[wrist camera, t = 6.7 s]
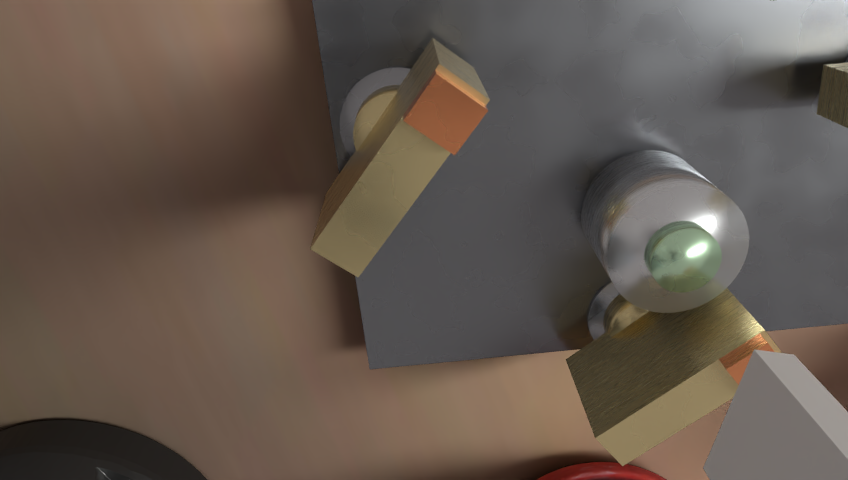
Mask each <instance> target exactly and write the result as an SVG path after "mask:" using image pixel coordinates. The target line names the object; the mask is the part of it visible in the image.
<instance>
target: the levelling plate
mask: <svg viewBox="0 0 848 480" xmlns="http://www.w3.org/2000/svg"><path fill="white" fill-rule="evenodd" d="M312 3H313V9H314V16H315V22H316V29H317V35H318V41H319V48H320V54H321V61H322V67H323V73H324V80H325V86H326V93H327V99H328V105H329V112H330V118H331V125H332V131H333V137H334V144H335V150H336V157H337V163H338V169H339V174H340V172H341V171H342V169H343V168H344V166H345V165H346V164H347V162H348V161H349V159H350V158H351V156H352V155H353V153H354V152H355V150H356V149H355V146H354V141H353V129H354V124H355V120H356V116H357V113H358V110H359V108H360V106H361V104H362V103H363V102H364V100H365V99H366V98H367V97H368V96H369V95H370V94H372V93H373V92H374V91H376V90H378V89H380V88H383V87H386V86H390V85H401V83H402V82H403V80H404V79H405V77H406V76H407V74H408V73H409V71H410V70H411V68H412V67H413V65H414V64H415V63H416V61H417V60H418V58H419V57H420V55H421V54H422V52H423V51H424V49H425V48H426V46H427V45H428V44H429V42H430V41H431V39H432V38H434V39H435V40H437V41H438V42H439V43H441V44H442V45H444V46H445V47H446V48H448V49H449V50H450V51H452V52H453V53H455V54H456V55H457V56H459V57H460V58H461V59H463V60H464V61H466V62H467V63H468V64H470V65H471V66H473V67H474V69H475V71H476V73H477V75H478V77H479V79H480V81H481V83H482V85H483V87H484V89H485V91H486V93H487V95H488V97H489V99H490V101H489V102H488V103H487V105H486V107H487V109H488V112H487V113H486V114H485V116H484V117H483V118H482V120H481V121H480V122H479V124H478V125H477V126H476V128H475V129H474V130H473V132H472V133H471V134H470V136H469V137H468V138H467V140H466V141H465V142H464V144H463V145H462V146H461V148H460V149H459V151H458V152H457V153H456V155H453V154H452V153H450V155H449V156H448V157H447V159H446V160H445V161H444V163H443V164H442V165H441V167H440V168H439V169H438V171H437V172H436V173H435V175H434V176H433V178H432V179H431V180H430V182H429V183H428V184H427V186H426V187H425V188H424V190H423V191H422V192H421V194H420V195H419V196H418V198H417V199H416V200H415V202H414V203H413V205H412V206H411V207H410V209H409V210H408V211H407V213H406V214H405V215H404V217H403V218H402V219H401V221H400V222H399V223H398V225H397V226H396V227H395V229H394V230H393V231H392V233H391V234H390V236H389V237H388V238H387V240H386V241H385V242H384V244H383V245H382V246H381V248H380V249H379V250H378V252H377V253H376V254H375V256H374V257H373V258H372V260H371V261H370V262H369V264H368V265H367V267H366V268H365V269H364V271H363V272H362V273H361V275H360V276H359V277H356V276H355V278H356V285H357V291H358V297H359V304H360V310H361V317H362V323H363V329H364V336H365V342H366V349H367V355H368V361H369V368H370V369H378V368H388V367H399V366H409V365H420V364H430V363H440V362H451V361H461V360H472V359H482V358H492V357H503V356H513V355H524V354H534V353H545V352H555V351H565V350H576V349H582V348H583V347H585V346H586V345H588V344H589V343H591V342H592V341H594V340H595V339H597V338H598V337H600V336H601V335H603V334H604V333H605V330H604V326H603V319H604V314H605V311H606V309H607V307H608V306H609V304H610V303H611V302H612V300H613V299H614V298H615V297H617V296H618V295H619V294H621V295H622V296H623V297H624V298H625V299H626V300H627V301H629V302H630V303H632V304H633V305H635V306H637V307H639V308H642V309H645V310H648V311H652V312H658V313H675V312H682V311H686V310H690V309H693V308H696V307H698V306H701V305H703V304H705V303H707V302H709V301H710V300H712V299H713V298H715V297H717V296H718V295H719V294H720V293H722V292H723V291H724V290H725V289H726V288H728V290H729V291H730V292H731V293H732V294H733V295H734V296H735V297H736V299H737V300H738V301H739V302H740V303H741V304H742V305H743V306H744V307H745V309H746V310H747V311H748V312H749V313H750V314H751V315H752V316H753V317H754V319H755V320H756V321H757V322H758V323H759V324H760V325H761V326H762V328H763V329H764V330H765V331H774V330H784V329H795V328H805V327H815V326H826V325H836V324H847V323H848V128H846V127H844V126H842V125H840V124H838V123H835V122H833V121H831V120H829V119H827V118H824V117H822V116H820V115H818V114H816V113H817V106H818V100H819V93H820V86H821V79H822V72H823V66H824V65H826V64H836V63H846V62H848V0H312Z"/></svg>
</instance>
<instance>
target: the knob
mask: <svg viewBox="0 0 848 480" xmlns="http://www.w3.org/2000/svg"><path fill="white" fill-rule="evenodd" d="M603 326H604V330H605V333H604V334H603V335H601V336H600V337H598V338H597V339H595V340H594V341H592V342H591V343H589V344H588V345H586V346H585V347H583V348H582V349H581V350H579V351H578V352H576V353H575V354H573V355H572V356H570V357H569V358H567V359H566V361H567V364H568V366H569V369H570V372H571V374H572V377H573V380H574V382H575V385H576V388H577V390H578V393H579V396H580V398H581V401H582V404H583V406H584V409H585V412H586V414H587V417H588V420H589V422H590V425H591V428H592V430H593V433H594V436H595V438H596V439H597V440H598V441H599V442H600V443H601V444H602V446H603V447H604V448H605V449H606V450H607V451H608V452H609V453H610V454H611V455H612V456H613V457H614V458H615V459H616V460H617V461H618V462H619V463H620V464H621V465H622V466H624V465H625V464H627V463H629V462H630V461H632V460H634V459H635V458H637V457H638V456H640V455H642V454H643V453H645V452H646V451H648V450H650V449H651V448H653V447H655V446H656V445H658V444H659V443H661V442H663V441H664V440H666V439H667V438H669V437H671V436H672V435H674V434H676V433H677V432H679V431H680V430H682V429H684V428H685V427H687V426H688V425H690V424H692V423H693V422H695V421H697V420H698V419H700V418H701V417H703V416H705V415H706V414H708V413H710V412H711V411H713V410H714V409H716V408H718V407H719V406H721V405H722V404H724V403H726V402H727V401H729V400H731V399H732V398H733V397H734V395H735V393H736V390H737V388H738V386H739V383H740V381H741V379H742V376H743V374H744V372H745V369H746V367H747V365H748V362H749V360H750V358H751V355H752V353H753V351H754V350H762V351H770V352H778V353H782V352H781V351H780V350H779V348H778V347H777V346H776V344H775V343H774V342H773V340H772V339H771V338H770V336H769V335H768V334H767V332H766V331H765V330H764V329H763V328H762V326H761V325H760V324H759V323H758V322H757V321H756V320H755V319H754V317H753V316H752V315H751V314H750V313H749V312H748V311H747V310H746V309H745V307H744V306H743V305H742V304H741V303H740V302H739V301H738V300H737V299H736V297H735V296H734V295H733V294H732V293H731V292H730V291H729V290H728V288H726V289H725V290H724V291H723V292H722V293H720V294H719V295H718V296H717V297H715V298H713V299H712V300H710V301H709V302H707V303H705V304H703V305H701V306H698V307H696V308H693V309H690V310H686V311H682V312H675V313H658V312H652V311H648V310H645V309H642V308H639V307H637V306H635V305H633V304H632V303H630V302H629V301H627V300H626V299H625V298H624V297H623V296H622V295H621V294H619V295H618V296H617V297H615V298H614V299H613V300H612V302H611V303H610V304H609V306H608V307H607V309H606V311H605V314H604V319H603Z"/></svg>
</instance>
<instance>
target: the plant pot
mask: <svg viewBox="0 0 848 480" xmlns="http://www.w3.org/2000/svg"><path fill="white" fill-rule="evenodd" d="M537 480H666V479H664V478H663V477H661V476H659V475H657V474H655V473H653V472H651V471H648V470H646V469H643V468H640V467H636V466H633V465H628V464H625V465H624V466H622V465H621V464H620V463H615V462H591V463H582V464H577V465H572V466H568V467H564V468H561V469H558V470H555V471H553V472H550V473H548V474H546V475H544V476H542V477H540V478H539V479H537Z"/></svg>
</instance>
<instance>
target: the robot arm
mask: <svg viewBox="0 0 848 480" xmlns="http://www.w3.org/2000/svg"><path fill="white" fill-rule="evenodd" d="M703 469H704V470H705V472H706V474H707V476H708V477H709V479H710V480H848V412H847V411H846V409H845V408H844V407H843V406H842V405H841V404H840V403H839V402H838V401H837V400H836V399H835V398H834V397H833V396H832V395H831V393H830V392H829V391H828V390H827V389H826V388H825V387H824V386H823V385H822V384H821V383H820V382H819V381H818V380H817V379H816V378H815V376H814V375H813V374H812V373H811V372H810V371H809V370H808V369H807V368H806V367H805V366H804V365H803V364H802V363H801V362H800V360H799V359H798V358H797V357H796V356H795V355H794V354H786V353H778V352H770V351H762V350H754V351H753V353H752V355H751V358H750V360H749V362H748V365H747V367H746V369H745V372H744V374H743V376H742V379H741V381H740V383H739V386H738V388H737V390H736V393H735V395H734V397H733V400H732V402H731V404H730V407H729V409H728V411H727V414H726V416H725V418H724V421H723V423H722V425H721V428H720V430H719V432H718V435H717V437H716V439H715V442H714V444H713V446H712V449H711V451H710V453H709V456H708V458H707V460H706V463H705V465H704V467H703ZM0 480H207V479H206V478H205V477H204V476H203V475H202V474H201V473H200V472H199V471H198V470H197V469H196V468H195V467H193V466H192V465H191V464H190V463H189V462H187V461H186V460H185V459H183V458H182V457H181V456H179V455H178V454H176V453H175V452H173V451H172V450H170V449H168V448H167V447H165V446H163V445H161V444H159V443H157V442H155V441H153V440H151V439H149V438H147V437H144V436H142V435H139V434H137V433H134V432H131V431H128V430H125V429H122V428H118V427H115V426H110V425H106V424H101V423H95V422H87V421H77V420H49V421H39V422H32V423H27V424H22V425H18V426H14V427H11V428H8V429H5V430H2V431H0Z"/></svg>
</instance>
